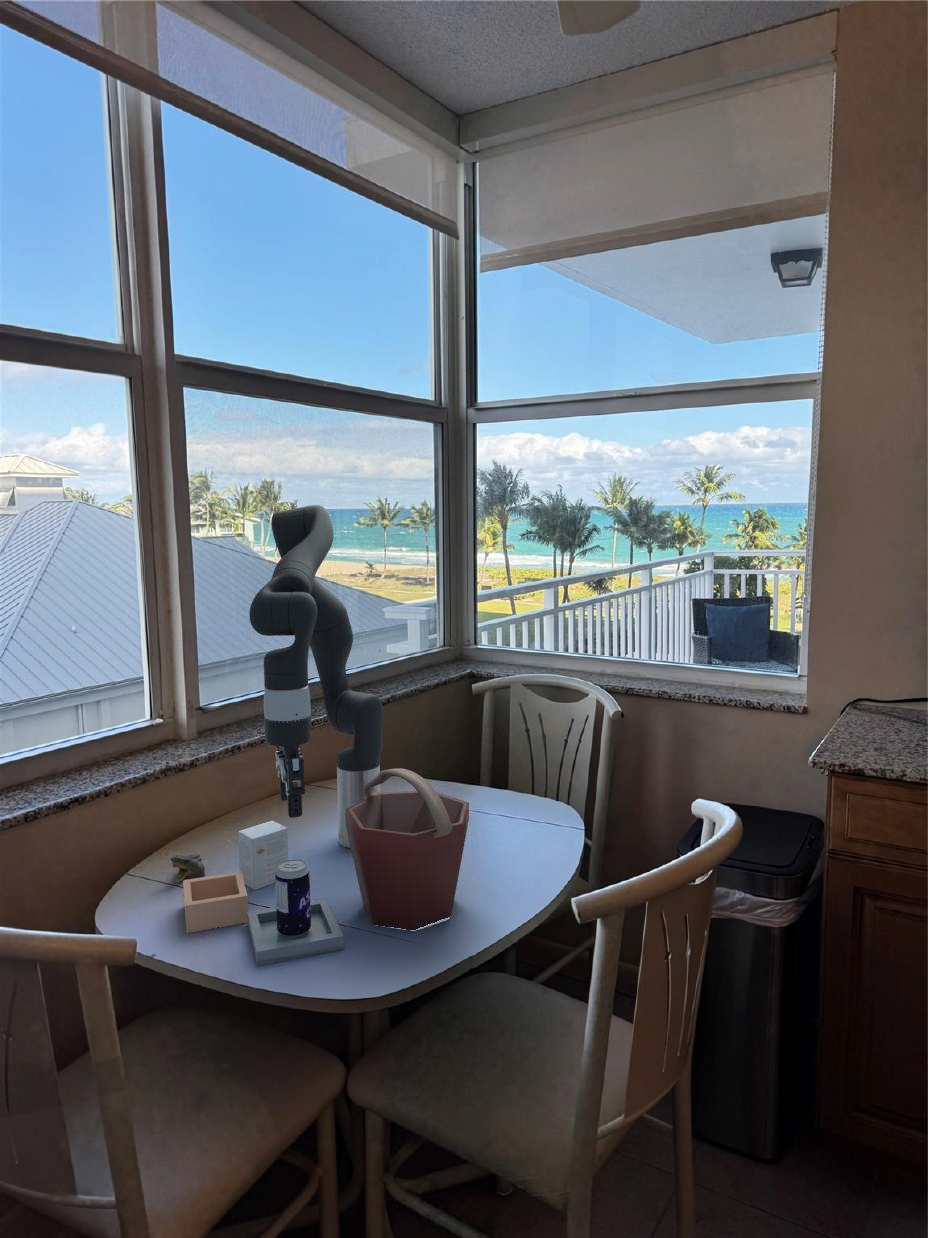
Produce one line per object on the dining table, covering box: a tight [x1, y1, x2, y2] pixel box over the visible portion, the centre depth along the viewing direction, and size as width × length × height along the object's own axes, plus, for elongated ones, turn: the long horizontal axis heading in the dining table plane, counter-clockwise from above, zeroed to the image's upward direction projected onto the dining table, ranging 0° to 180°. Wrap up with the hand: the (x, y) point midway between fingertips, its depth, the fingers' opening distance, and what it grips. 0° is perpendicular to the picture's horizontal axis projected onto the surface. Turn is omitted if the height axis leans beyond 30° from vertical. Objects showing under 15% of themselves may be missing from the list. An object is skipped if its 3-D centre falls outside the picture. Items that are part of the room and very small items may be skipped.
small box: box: [237, 820, 290, 891], centre depth 161 cm, size 8×6×10 cm
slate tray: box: [247, 898, 345, 967], centre depth 140 cm, size 14×14×2 cm
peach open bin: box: [182, 871, 249, 934], centre depth 148 cm, size 10×10×5 cm
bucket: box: [345, 767, 470, 930], centre depth 149 cm, size 24×22×25 cm
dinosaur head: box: [170, 853, 206, 884], centre depth 162 cm, size 8×6×7 cm
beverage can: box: [275, 858, 311, 938], centre depth 139 cm, size 6×6×12 cm
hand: (291, 807), depth 137 cm, fingers open, 8 cm apart
